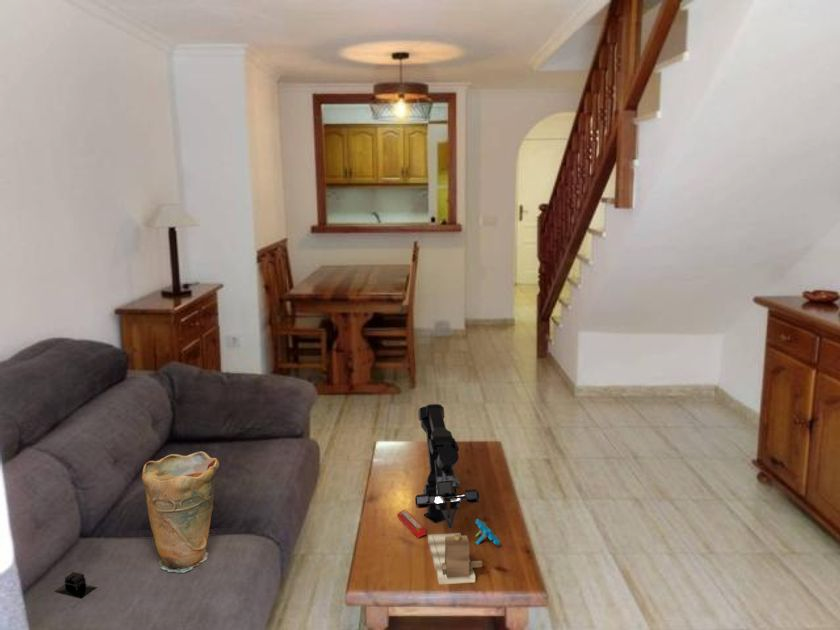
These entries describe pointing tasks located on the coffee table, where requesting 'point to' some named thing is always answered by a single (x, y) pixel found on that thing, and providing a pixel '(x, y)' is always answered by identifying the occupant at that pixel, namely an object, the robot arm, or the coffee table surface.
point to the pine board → (438, 558)
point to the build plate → (75, 586)
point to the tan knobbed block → (458, 557)
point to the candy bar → (411, 523)
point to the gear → (485, 533)
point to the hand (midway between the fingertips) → (450, 528)
